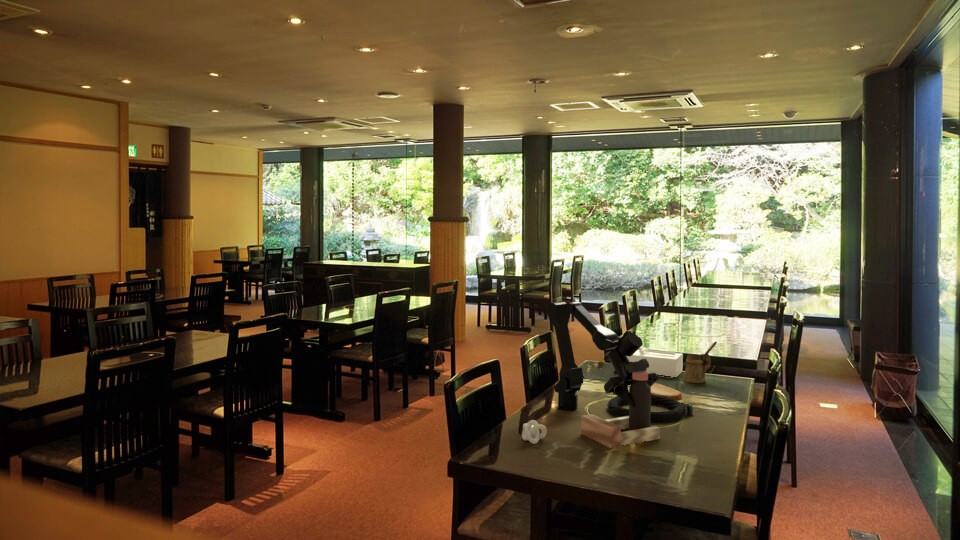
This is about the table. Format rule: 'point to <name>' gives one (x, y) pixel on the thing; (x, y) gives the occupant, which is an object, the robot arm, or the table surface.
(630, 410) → the vinegar
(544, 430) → the knot
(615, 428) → the track
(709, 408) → the table surface
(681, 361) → the tissue box
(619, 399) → the cable lock
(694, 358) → the wooden mug
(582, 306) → the robot arm
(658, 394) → the bread slice
